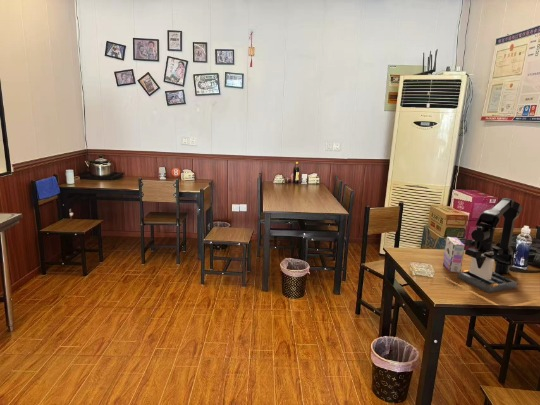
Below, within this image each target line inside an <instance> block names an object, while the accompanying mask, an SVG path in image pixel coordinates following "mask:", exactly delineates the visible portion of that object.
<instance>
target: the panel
mask: <svg viewBox="0 0 540 405" xmlns="http://www.w3.org/2000/svg"><path fill="white" fill-rule="evenodd" d="M484 257H486V256H484ZM470 261H471V262H470V268H469V271H470V272H471V273H473V274H476V275H478V276H480V277H482V278H484V279H486V280H490V279H491V277H492V271H493V270H494V264H495V261H494V260H493V259H491V258H488V257H486V258H485V261H484V263H483V265H482V267H481V268H480V269H479V268H478V266H477V261H476V258H473V257H471V260H470ZM493 272H494V271H493Z"/></svg>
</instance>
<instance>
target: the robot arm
mask: <svg viewBox="0 0 540 405" xmlns="http://www.w3.org/2000/svg"><path fill="white" fill-rule="evenodd" d="M522 212H523V206H522V205H521V203H519V202H516V201H515V200H513V199H512V198H507V197H504V198H503V197H502V198H501V200H500V201H499V202H498V203H497V204H495V206H493V207H492V208H491V209H486V210H484V211H483V212H481V214H480V215H479V218H478V219H477V222H476V224H475V226H476V229H475V230H473V231H472V232H471V234H470V235H471V238H472V239H470V238H469V239H465V246H467V247H468V248H467V249H464V254H465V255H467V256H469V257H471V258H472V257H473V258H476V261H477V266H478V268H479V269H480V268H481V267H482V265H483V263H484V261H485V258H486V257H488V258H491V259H493V260H494V262H496V265H495V268H494V272H495V273H497V274H500V275H502V274H503V275H508V274H509V273H510V267H511V266H515V262H516V260H515V256H514V250H513V248H512V245H511V244H512V240H513V235H514V234H513V233H514V228H515V223H516V219H518V218H519V216H520V215H521V213H522ZM502 216H503V224H502V225H503V226H502V231H501V237H500V242H499V245H498V246H497V245H493V244H496V241H495V240H494V237H495V231H496V229H497V227H498V225H499V224H500V222H501V217H502ZM484 256H486V257H484Z"/></svg>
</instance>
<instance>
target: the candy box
mask: <svg viewBox="0 0 540 405" xmlns="http://www.w3.org/2000/svg"><path fill="white" fill-rule="evenodd" d="M465 246H466V244H464V243H463V242H462V241H461V240H460V238H458V237H455V236H454V237H453V236H447V237H446V240H445V246H444V255H443V261H442V264H443V265H444V267H445V268H446V269H447V270H448V271H449V272H454V273H459V272H462V266H463V265H462V264H463V259H464V254H465Z"/></svg>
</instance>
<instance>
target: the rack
mask: <svg viewBox="0 0 540 405" xmlns="http://www.w3.org/2000/svg"><path fill="white" fill-rule="evenodd" d="M457 279H459V280H461V281H463V282H465V283H467V284H469V285H471V286H473V287H475V288H477V289H479V290H481V291H484V292H485V293H488V294H493V293H498V292H499V293H500V292H503V291H509V290H514V289H518V288H517V287H518V284H519V283H518V281H516V280H513V279H511V278H509V277H506V276H504V275H502V274H500V273H497V272H495V271H492V277H491V279H490V280H486V279H484V278H482V277H480V276H478V275H476V274H473V273H471V272H470V270H468V269H466V270H465V269H464V270H461V272H458V275H457Z"/></svg>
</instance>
